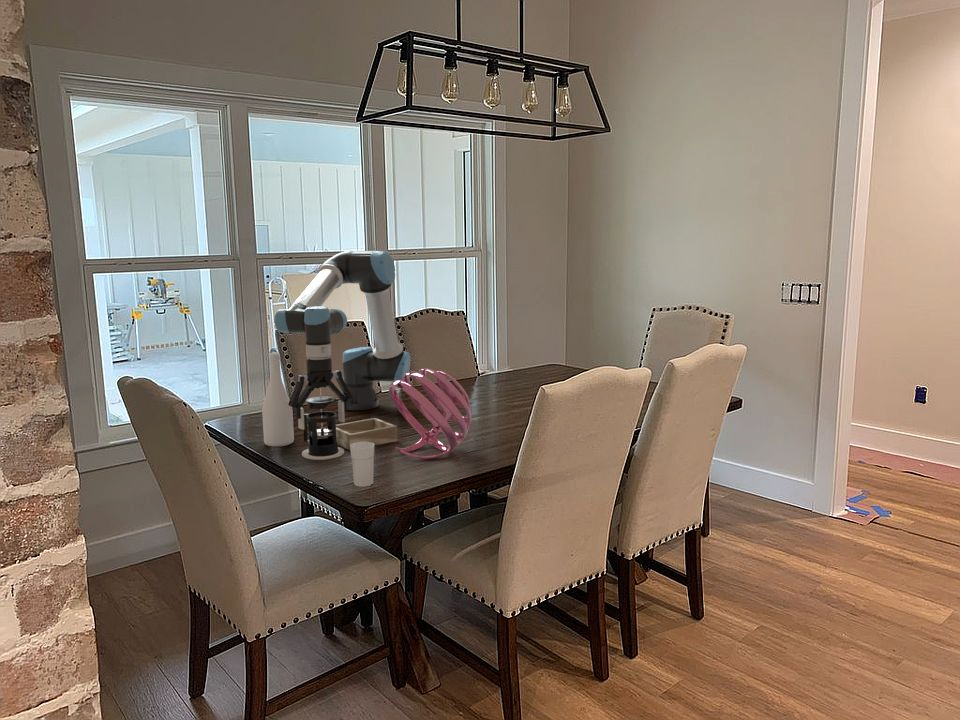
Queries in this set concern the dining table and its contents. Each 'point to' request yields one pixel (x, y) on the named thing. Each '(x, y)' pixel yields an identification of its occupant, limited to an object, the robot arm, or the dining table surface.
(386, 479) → the dining table surface
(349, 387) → the robot arm
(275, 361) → the wine bottle
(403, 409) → the spiral basket
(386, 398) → the dining table surface
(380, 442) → the holder
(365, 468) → the cup
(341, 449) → the trivet
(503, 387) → the dining table surface
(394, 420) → the dining table surface
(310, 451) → the french press
